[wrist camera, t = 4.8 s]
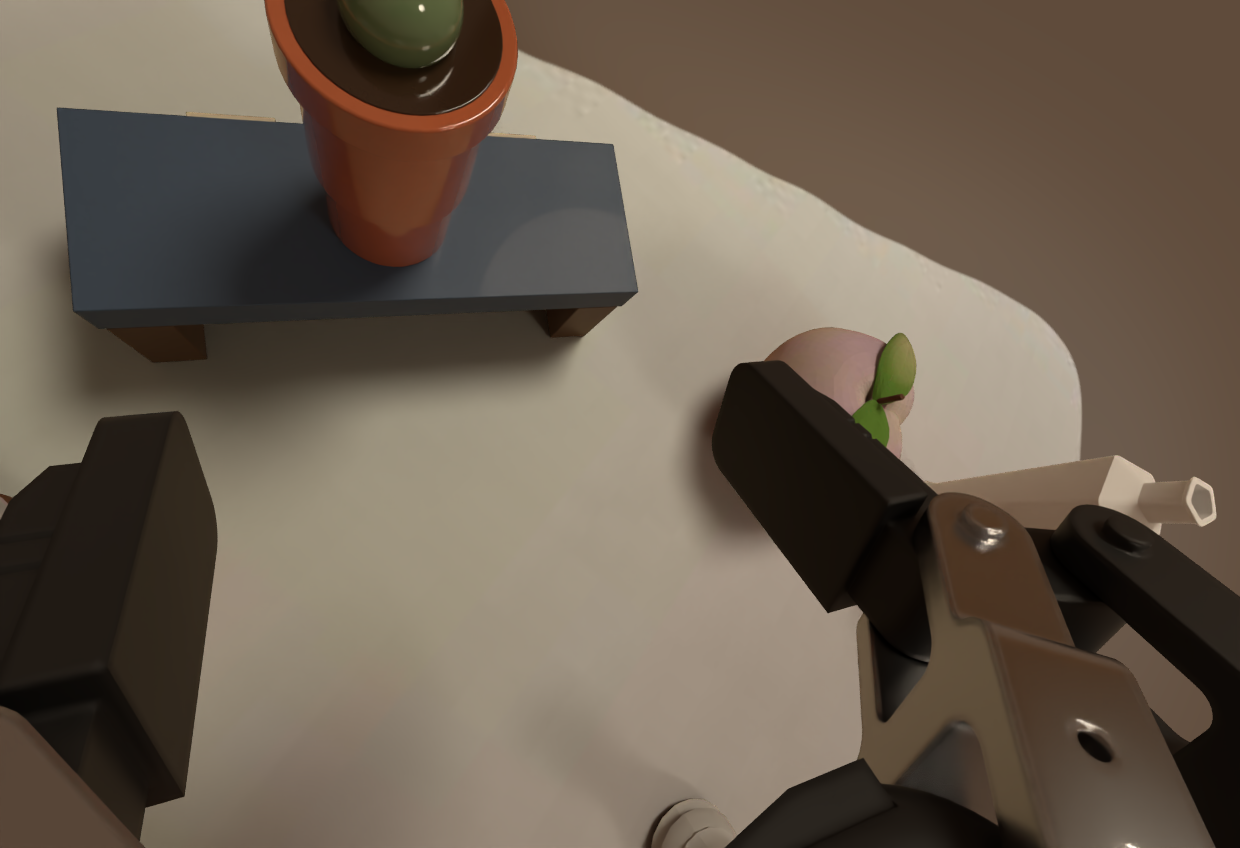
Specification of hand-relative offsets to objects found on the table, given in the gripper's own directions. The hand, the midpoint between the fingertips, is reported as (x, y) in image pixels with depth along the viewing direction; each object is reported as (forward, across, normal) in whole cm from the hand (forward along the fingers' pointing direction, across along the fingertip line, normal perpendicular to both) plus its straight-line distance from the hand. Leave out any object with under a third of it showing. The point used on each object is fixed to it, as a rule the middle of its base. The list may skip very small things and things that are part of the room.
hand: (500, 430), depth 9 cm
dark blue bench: (+23, 0, +8) cm, 24 cm away
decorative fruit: (+16, -21, +15) cm, 30 cm away
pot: (+18, 0, +3) cm, 18 cm away
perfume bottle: (+11, -32, +20) cm, 39 cm away
